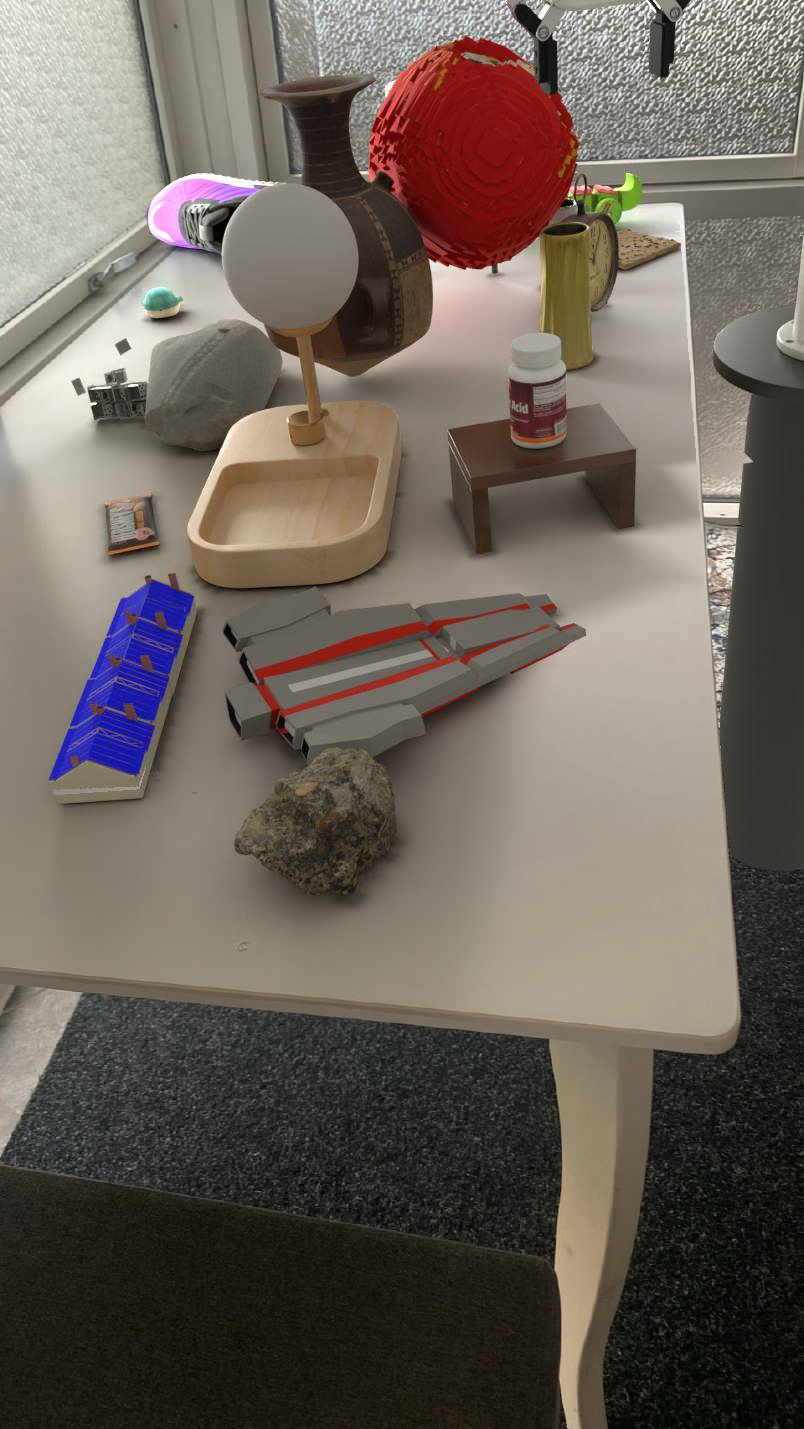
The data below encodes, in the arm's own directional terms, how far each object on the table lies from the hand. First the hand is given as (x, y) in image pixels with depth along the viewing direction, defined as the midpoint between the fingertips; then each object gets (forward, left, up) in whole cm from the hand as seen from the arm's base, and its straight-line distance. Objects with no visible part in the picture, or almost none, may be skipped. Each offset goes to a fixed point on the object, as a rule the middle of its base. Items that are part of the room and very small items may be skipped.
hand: (604, 83), depth 95 cm
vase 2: (-1, -16, -31) cm, 35 cm away
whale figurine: (+45, -57, -31) cm, 79 cm away
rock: (+37, +59, -28) cm, 75 cm away
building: (+47, +34, -31) cm, 66 cm away
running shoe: (+32, -87, -25) cm, 96 cm away
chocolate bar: (+48, +6, -30) cm, 57 cm away
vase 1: (+22, -22, -30) cm, 44 cm away
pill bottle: (+11, +17, -23) cm, 31 cm away
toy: (+5, -48, -15) cm, 50 cm away
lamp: (+31, +6, -30) cm, 44 cm away
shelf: (+11, +17, -30) cm, 36 cm away
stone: (+46, -20, -26) cm, 57 cm away
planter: (-7, -41, -31) cm, 52 cm away
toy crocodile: (-17, -65, -30) cm, 74 cm away
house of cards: (+51, -21, -26) cm, 60 cm away
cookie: (-19, -51, -31) cm, 63 cm away
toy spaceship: (+26, +38, -26) cm, 53 cm away
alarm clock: (-6, -29, -30) cm, 42 cm away
